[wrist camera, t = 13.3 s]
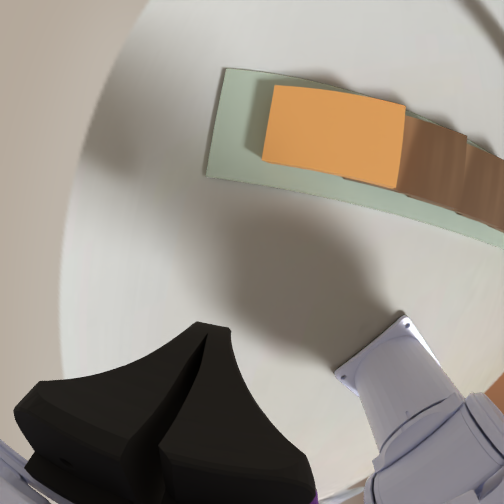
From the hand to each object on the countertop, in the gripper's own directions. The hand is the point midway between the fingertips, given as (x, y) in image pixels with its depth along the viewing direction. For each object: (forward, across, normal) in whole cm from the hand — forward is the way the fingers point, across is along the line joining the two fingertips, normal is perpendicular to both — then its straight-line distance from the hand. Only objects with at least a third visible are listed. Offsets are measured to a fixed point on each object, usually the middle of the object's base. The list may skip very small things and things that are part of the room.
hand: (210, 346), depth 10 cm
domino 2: (+9, -11, -10) cm, 17 cm away
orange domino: (+9, -1, -10) cm, 13 cm away
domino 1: (+9, -6, -10) cm, 14 cm away
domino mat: (+10, -14, -10) cm, 20 cm away
